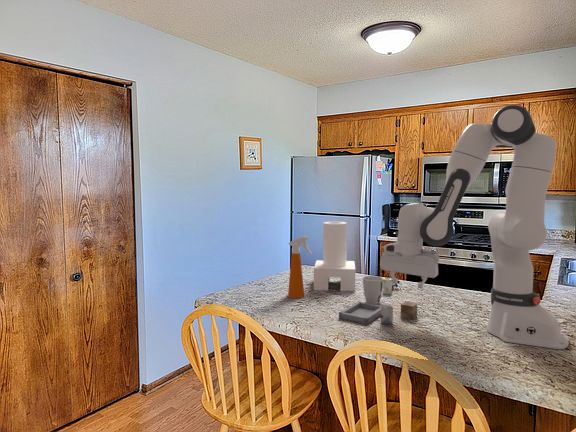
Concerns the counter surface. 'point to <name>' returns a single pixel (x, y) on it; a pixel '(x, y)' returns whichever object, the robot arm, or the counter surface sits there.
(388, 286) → the valve
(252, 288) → the counter surface
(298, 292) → the spray bottle
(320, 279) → the white cylinder stand
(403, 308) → the walnut block
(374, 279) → the cup
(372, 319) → the parts tray
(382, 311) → the metal cylinder
